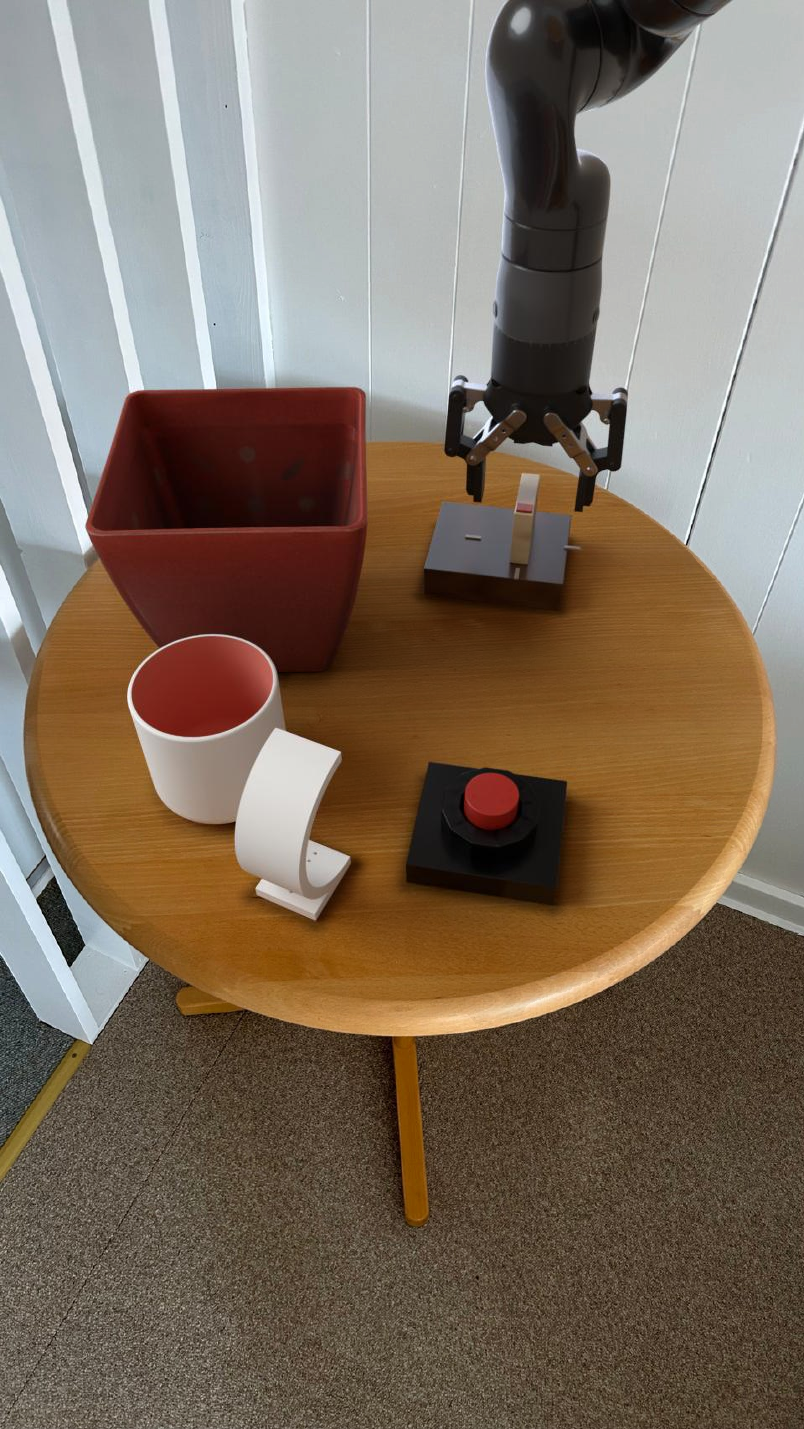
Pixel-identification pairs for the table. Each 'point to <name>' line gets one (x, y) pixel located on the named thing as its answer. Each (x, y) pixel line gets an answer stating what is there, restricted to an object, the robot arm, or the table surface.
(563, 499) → the table surface
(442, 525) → the panel
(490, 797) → the button
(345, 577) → the plant pot
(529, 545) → the handle
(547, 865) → the button block
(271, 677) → the cup
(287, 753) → the headphone stand
